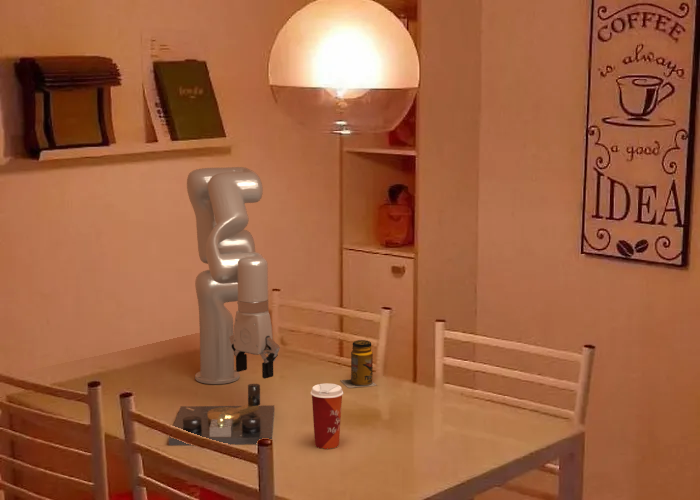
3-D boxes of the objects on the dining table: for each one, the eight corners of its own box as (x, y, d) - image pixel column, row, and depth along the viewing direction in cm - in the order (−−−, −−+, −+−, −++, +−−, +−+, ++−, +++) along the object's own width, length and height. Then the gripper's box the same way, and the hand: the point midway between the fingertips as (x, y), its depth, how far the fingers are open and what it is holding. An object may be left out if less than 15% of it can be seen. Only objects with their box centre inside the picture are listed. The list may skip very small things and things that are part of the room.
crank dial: (222, 427, 250) (221, 401, 249) (200, 420, 256) (200, 394, 254) (269, 412, 262) (269, 387, 260) (248, 405, 267) (247, 381, 266)
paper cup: (339, 451, 240) (339, 393, 238) (307, 449, 241) (306, 391, 239) (346, 440, 247) (346, 383, 245) (315, 438, 249) (314, 381, 247)
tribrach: (180, 412, 267) (180, 391, 266) (274, 411, 268) (274, 390, 268) (168, 445, 244) (168, 422, 243) (271, 444, 245) (271, 421, 244)
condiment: (377, 385, 291) (377, 344, 289) (348, 388, 288) (348, 346, 286) (368, 378, 298) (368, 337, 296) (340, 381, 295) (340, 340, 293)
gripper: (218, 304, 262) (220, 371, 264) (266, 313, 250) (267, 383, 252) (241, 300, 267) (242, 365, 269) (288, 309, 255) (289, 377, 258)
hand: (254, 374), depth 261 cm, fingers open, 9 cm apart
